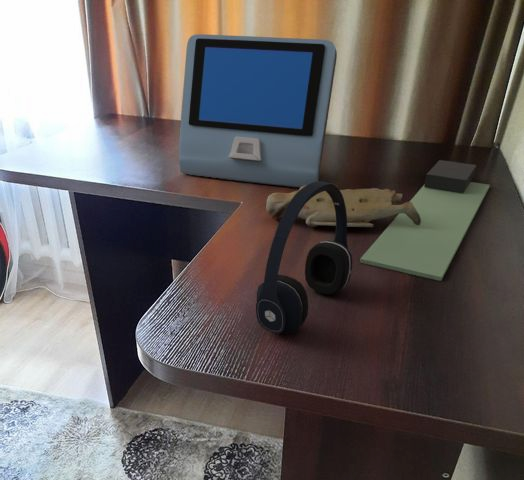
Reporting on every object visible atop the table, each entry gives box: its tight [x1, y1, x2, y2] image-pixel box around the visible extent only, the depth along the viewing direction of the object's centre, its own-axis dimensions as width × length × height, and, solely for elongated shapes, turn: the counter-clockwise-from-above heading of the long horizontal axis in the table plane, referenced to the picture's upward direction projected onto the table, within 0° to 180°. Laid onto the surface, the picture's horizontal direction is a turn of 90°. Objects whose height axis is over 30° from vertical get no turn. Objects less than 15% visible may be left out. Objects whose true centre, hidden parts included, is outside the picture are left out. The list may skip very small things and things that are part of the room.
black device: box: [423, 159, 477, 193], centre depth 122 cm, size 9×3×14 cm
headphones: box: [255, 180, 353, 335], centre depth 70 cm, size 20×7×18 cm, turn 146°
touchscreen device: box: [178, 33, 338, 189], centre depth 121 cm, size 35×20×30 cm, turn 72°
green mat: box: [359, 181, 491, 282], centre depth 105 cm, size 14×55×1 cm, turn 152°
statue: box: [265, 184, 421, 228], centre depth 100 cm, size 10×7×30 cm
